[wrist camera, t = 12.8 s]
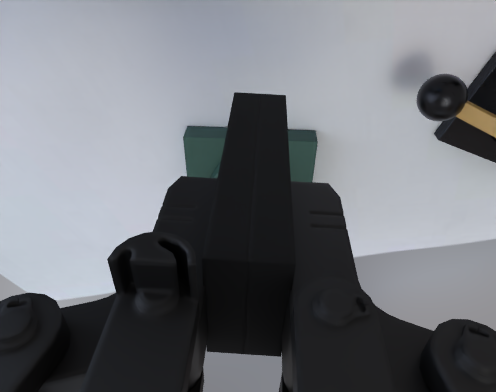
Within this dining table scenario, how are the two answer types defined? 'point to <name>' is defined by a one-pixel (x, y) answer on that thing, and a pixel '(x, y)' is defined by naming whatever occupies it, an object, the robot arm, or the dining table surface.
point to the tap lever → (452, 103)
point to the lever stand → (464, 134)
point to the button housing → (212, 143)
